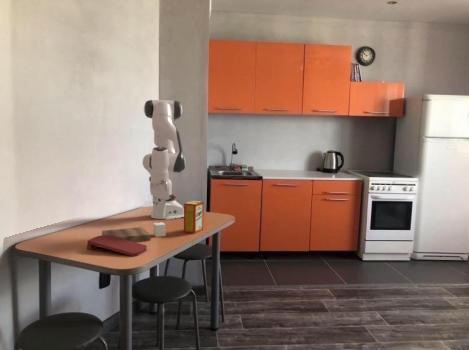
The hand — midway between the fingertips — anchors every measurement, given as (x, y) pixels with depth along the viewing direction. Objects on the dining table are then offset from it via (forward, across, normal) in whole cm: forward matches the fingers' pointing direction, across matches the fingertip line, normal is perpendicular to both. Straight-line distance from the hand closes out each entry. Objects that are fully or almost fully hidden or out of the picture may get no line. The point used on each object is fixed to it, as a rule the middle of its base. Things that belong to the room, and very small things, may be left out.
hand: (159, 206), depth 207 cm
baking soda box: (+15, +2, -20) cm, 25 cm away
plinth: (+15, 0, +17) cm, 23 cm away
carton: (+16, -17, +25) cm, 34 cm away
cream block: (+15, 0, 0) cm, 15 cm away
